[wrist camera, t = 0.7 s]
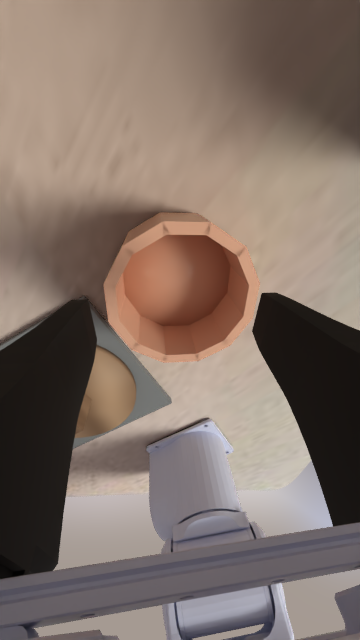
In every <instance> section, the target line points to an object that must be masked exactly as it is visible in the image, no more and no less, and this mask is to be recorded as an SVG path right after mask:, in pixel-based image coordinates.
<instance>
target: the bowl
mask: <svg viewBox="0 0 360 640" xmlns="http://www.w3.org/2000/svg"><path fill="white" fill-rule="evenodd" d="M259 285H260V282H259V279H258V276H257V274H256V271H255V268H254V266H253V263H252V260H251V258H250V255H249V252H248V250H247V247H246V246H245V245H243V244H242V243H240V242H239V241H237V240H236V239H234V238H233V237H231V236H230V235H229V234H227V233H226V232H224V231H223V230H221V229H220V228H218V227H217V226H216V225H214V224H213V223H211V222H210V221H208V220H207V219H205V218H204V217H202V216H201V215H199V214H197V213H180V212H173V213H164V212H160V213H158V214H157V215H155V216H153V217H152V218H150V219H148V220H146V221H144V222H143V223H141V224H140V225H138V226H137V227H135V228H134V229H132V230H130V231H129V232H128V234H127V236H126V238H125V240H124V242H123V244H122V246H121V248H120V250H119V252H118V254H117V256H116V258H115V260H114V262H113V264H112V267H111V269H110V271H109V273H108V275H107V277H106V280H105V282H104V284H103V286H104V293H105V300H106V308H107V315H108V322H109V324H110V325H111V326H112V327H113V328H114V330H115V331H116V332H117V333H118V334H119V335H120V337H121V338H122V339H123V340H124V341H125V343H126V344H127V345H128V346H129V347H130V349H131V350H134V351H136V352H138V353H141V354H143V355H146V356H148V357H151V358H153V359H156V360H158V361H161V362H163V363H166V362H188V361H199V360H201V359H204V358H206V357H208V356H210V355H212V354H214V353H216V352H218V351H220V350H222V349H224V348H226V347H228V346H230V345H231V344H232V343H233V341H234V340H235V339H236V338H237V337H238V335H239V334H240V333H241V332H242V331H243V329H244V328H245V327H246V326H247V325H248V323H249V322H250V321H251V320H252V319H253V314H254V309H255V304H256V300H257V295H258V290H259Z"/></svg>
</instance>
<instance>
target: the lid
mask: <svg viewBox="0 0 360 640" xmlns="http://www.w3.org/2000/svg"><path fill="white" fill-rule="evenodd" d="M135 401H136V383H135V379H134V376H133V374H132V372H131V371H130V369H129V368H128V366H127V365H126V364H125V363H124V362H123V361H122V360H121V359H120V358H119V357H118V356H116V355H115V354H114V353H112V352H110V351H109V350H107V349H105V348H103V347H101V346H99V345H96V353H95V359H94V364H93V367H92V371H91V374H90V378H89V381H88V385H87V388H86V392H85V395H84V398H83V402H82V405H81V409H80V413H79V417H78V421H77V427H76V432H75V438H83V437H90V436H95V435H99V434H102V433H105V432H107V431H110V430H112V429H114V428H116V427H117V426H118V425H120V424H121V423H122V422H124V421H125V420H126V419H127V417H128V416H129V415H130V413H131V412H132V410H133V408H134V405H135Z"/></svg>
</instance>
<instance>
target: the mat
mask: <svg viewBox="0 0 360 640" xmlns="http://www.w3.org/2000/svg"><path fill="white" fill-rule="evenodd" d="M82 299H87V298H86V297H85V296H83V297H81V298H79V299H78V300H82ZM89 305H90V309H91V314H92V318H93V323H94V327H95V332H96V336H97V345H99V346H101V347H103V348H105V349H107V350H109V351H110V352H112V353H114V354H115V355H116V356H118V357H119V358H120V359H121V360H122V361H123V362H124V363H125V364H126V365H127V366H128V368H129V369H130V371H131V372H132V374H133V376H134V379H135V383H136V401H135V405H134V408H133V410H132V412H131V413H130V415H129V416H128V417H127V419H126V420H125V421H124V422H122V423H121V424H120V425H118V426H117V427H116V428H114V429H112V430H110V431H113V430H115V429H117V428H119V427H121V426H123V425H126V424H128V423H130V422H132V421H134V420H136V419H139V418H141V417H143V416H145V415H147V414H149V413H151V412H154V411H156V410H158V409H160V408H162V407H164V406H167V405H169V404H171V403H172V402H171V398H170V397H169V396H168V395H167V393H166V392H165V391H164V390H163V389H162V388H161V386H160V385H159V384H158V383H157V382H156V380H155V379H154V378H153V377H152V376H151V374H150V373H149V372H148V371H147V370H146V369H145V367H144V366H143V365H142V364H141V363H140V361H139V360H138V359H137V358H136V357H135V355H134V354H133V353H132V352H131V351H130V350H129V348H128V347H127V346H126V345H125V344H124V342H123V341H122V340H121V339H120V338H119V336H118V335H117V334H116V333H115V332H114V331H113V329H112V328H111V327H110V326H109V325H108V323H107V322H106V321H105V320H104V319H103V317H102V316H101V315H100V314H99V313H98V312H97V310H96V309H95V308H94V307H93V306H92V304H91V303H90V302H89ZM50 316H51V315H50ZM48 317H49V316H48ZM48 317H47V318H48ZM47 318H45V319H43V320H41V321H40V322H38V323H36V324H35V325H33V326H31V327H29V328H28V329H26V330H24V331H22V332H21V333H19V334H17V335H16V336H14V337H12V338H10V339H9V340H7V341H5V342H3V343H2V344H0V350H2V349H4V348H5V347H7V346H8V345H10V344H11V343H13V342H14V341H16V340H17V339H19V338H20V337H22V336H23V335H25V334H26V333H28V332H29V331H30V330H32V329H33V328H35V327H36V326H38V325H39V324H40V323H42V322H43V321H44V320H46V319H47ZM110 431H107V432H105V433H102V434H99V435H95V436H90V437H83V438H74V444H73V449H74V448H76V447H78V446H80V445H82V444H85V443H87V442H89V441H91V440H93V439H95V438H97V437H100V436H102V435H104V434H106V433H108V432H110Z"/></svg>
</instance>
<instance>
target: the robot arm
mask: <svg viewBox="0 0 360 640" xmlns="http://www.w3.org/2000/svg"><path fill="white" fill-rule="evenodd" d="M252 332H253V335H254V337H255V340H256V343H257V345H258V348H259V350H260V352H261V354H262V356H263V358H264V359H265V361H266V363H267V365H268V366H269V368H270V370H271V372H272V373H273V375H274V377H275V379H276V380H277V382H278V384H279V386H280V387H281V389H282V391H283V393H284V395H285V397H286V399H287V401H288V403H289V405H290V407H291V409H292V412H293V414H294V416H295V419H296V421H297V423H298V426H299V428H300V431H301V433H302V436H303V438H304V441H305V443H306V446H307V448H308V451H309V454H310V457H311V459H312V462H313V465H314V468H315V470H316V473H317V476H318V479H319V482H320V485H321V488H322V491H323V494H324V498H325V501H326V504H327V507H328V510H329V514H330V517H331V520H332V524H333V527H327V528H321V529H316V530H308V531H303V532H296V533H289V534H283V535H277V536H271V537H266V535H265V533H264V531H263V529H261V528H260V527H259V526H258V525H257V524H256V523H255V522H250V523H249V521H248V518H247V514H246V512H242V508H241V505H240V501H239V497H238V494H237V490H236V487H235V483H234V480H233V476H232V473H231V469H230V465H229V462H228V458H227V454H230V453H232V452H233V451H234V450H233V447H232V446H231V444H230V443H229V442H228V440H227V439H226V438H225V436H224V435H223V434H222V432H221V431H220V430H219V428H218V427H217V426H216V424H215V423H214V422H213V421H212V420H211V419H208V420H205V421H203V422H201V423H198V424H196V425H194V426H192V427H189V428H187V429H185V430H183V431H180V432H178V433H176V434H173V435H171V436H169V437H167V438H164V439H162V440H160V441H158V442H155V443H153V444H151V445H148V446H147V447H146V451H147V452H148V453H149V502H150V512H151V517H152V521H153V525H154V528H155V530H156V532H157V534H158V535H159V537H160V538H161V539H162V540H163V541H166V542H165V544H164V546H163V548H162V552H161V554H156V555H150V556H144V557H137V558H132V559H125V560H118V561H112V562H106V563H99V564H93V565H87V566H81V567H74V568H68V569H62V570H55V571H53V570H54V568H55V567H56V565H57V564H58V557H59V546H60V538H61V530H62V520H63V512H64V505H65V497H66V490H67V482H68V475H69V469H70V462H71V456H72V450H73V444H74V438H75V432H76V427H77V421H78V417H79V413H80V409H81V405H82V402H83V398H84V395H85V392H86V388H87V385H88V381H89V378H90V374H91V371H92V367H93V364H94V359H95V353H96V345H97V336H96V332H95V327H94V323H93V318H92V314H91V309H90V305H89V300H88V299H82V300H71V301H70V302H68V303H67V304H65V305H64V306H63V307H61V308H60V309H59V310H57V311H56V312H55V313H53V314H52V315H51V316H49V317H48V318H47V319H46V320H44V321H43V322H42V323H40V324H39V325H38V326H36V327H35V328H33V329H32V330H30V331H29V332H28V333H26V334H25V335H23V336H22V337H20V338H19V339H17V340H16V341H14V342H13V343H11V344H10V345H8V346H7V347H5V348H4V349H2V350H0V640H119V638H118V637H117V636H104V635H102V633H101V632H100V630H92V631H85V632H76V633H69V634H60V635H52V636H45V637H39V636H38V633H37V632H36V631H35V629H32V628H38V627H43V626H48V625H54V624H59V623H65V622H71V621H76V620H81V619H87V618H92V617H98V616H103V615H109V614H114V613H120V612H125V611H131V610H136V609H142V608H147V607H152V606H158V605H162V609H163V616H164V624H165V629H166V635H167V640H192V638H197V637H202V636H207V635H211V634H216V633H221V632H226V631H231V630H236V629H241V628H245V627H250V626H255V625H259V624H264V626H263V627H262V629H261V630H259V631H257V632H255V633H252V634H248V635H243V636H238V637H234V638H228V639H223V640H294V634H293V630H292V627H291V623H290V620H289V616H288V612H287V608H286V602H285V597H284V591H283V587H282V583H284V582H290V581H295V580H300V579H306V578H312V577H317V576H323V575H328V574H334V573H339V572H345V571H350V570H356V569H360V331H359V330H357V329H354V328H352V327H349V326H347V325H345V324H343V323H340V322H338V321H336V320H333V319H331V318H329V317H327V316H325V315H323V314H321V313H319V312H317V311H315V310H312V309H310V308H308V307H306V306H304V305H302V304H300V303H298V302H296V301H294V300H292V299H290V298H288V297H285V296H283V295H281V294H278V293H262V295H261V298H260V302H259V306H258V310H257V314H256V318H255V322H254V326H253V330H252ZM335 600H336V603H337V605H338V607H339V610H340V612H341V615H342V617H343V619H344V622H345V630H340V631H335V632H330V633H326V634H321V635H316V636H311V637H306V638H301V639H297V640H360V585H358V586H355V587H352V588H350V589H347V590H344V591H341V592H338V593H336V594H335Z"/></svg>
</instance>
